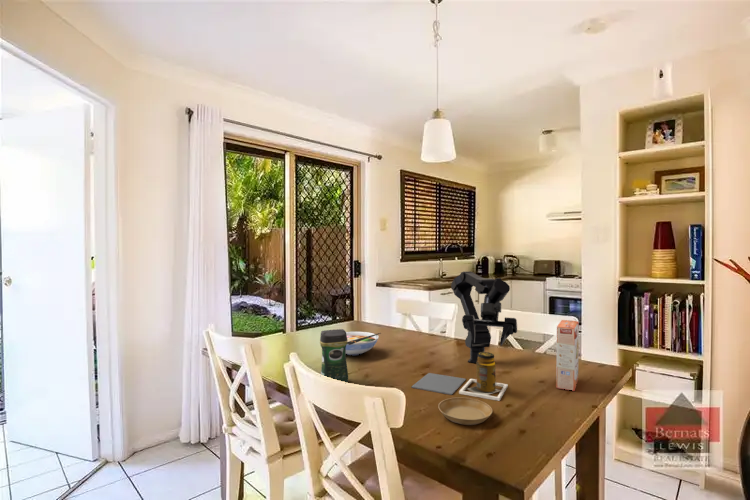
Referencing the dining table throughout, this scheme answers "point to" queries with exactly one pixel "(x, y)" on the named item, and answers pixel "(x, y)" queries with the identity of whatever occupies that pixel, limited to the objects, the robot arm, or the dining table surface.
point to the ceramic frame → (482, 394)
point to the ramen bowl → (360, 342)
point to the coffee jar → (334, 354)
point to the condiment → (485, 374)
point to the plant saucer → (465, 410)
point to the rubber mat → (439, 383)
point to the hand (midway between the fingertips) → (487, 343)
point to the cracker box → (567, 354)
